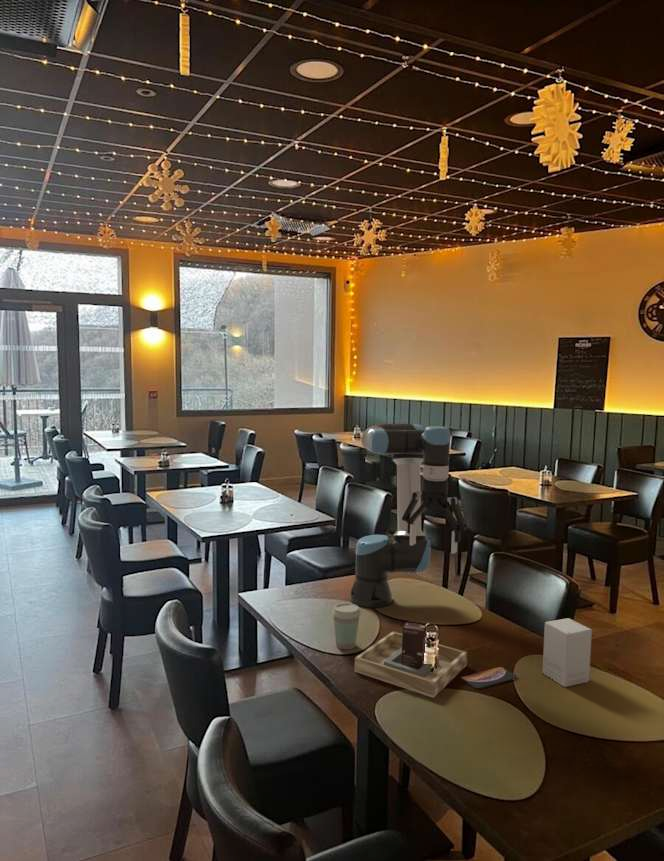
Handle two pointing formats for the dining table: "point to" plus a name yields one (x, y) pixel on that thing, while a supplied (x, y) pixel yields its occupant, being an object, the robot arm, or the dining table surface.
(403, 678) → the birch tray
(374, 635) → the dining table surface
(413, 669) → the slate socket
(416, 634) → the box
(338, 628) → the coffee cup
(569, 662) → the supplement box
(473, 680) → the smartphone
